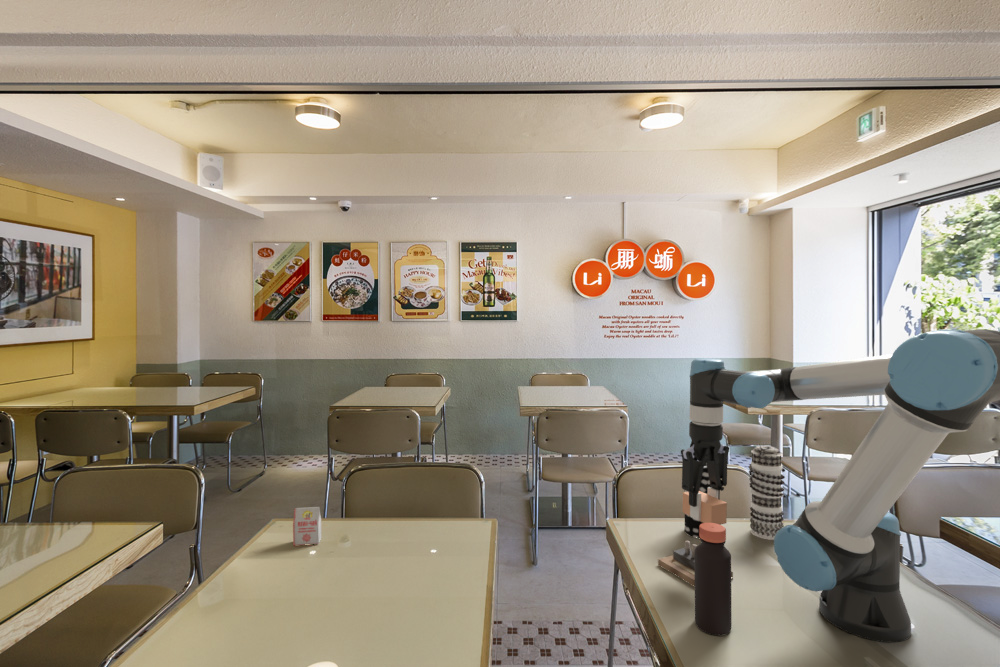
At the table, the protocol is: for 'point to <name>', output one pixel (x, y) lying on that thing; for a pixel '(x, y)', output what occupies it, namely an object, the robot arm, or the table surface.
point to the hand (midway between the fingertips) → (704, 516)
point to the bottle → (712, 580)
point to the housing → (708, 508)
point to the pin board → (682, 563)
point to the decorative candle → (766, 491)
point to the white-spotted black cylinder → (690, 523)
